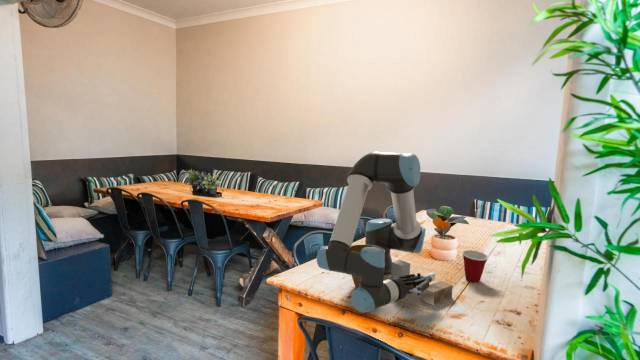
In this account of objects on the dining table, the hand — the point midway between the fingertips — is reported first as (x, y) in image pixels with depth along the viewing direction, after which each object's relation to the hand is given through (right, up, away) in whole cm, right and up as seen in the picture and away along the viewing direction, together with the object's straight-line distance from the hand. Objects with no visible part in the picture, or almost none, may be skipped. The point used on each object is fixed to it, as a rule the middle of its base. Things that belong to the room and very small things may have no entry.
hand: (433, 276), depth 136 cm
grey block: (-11, -8, +8) cm, 16 cm away
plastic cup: (+25, -8, +24) cm, 35 cm away
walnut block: (-2, -7, -1) cm, 8 cm away
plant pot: (-25, -8, +11) cm, 28 cm away
